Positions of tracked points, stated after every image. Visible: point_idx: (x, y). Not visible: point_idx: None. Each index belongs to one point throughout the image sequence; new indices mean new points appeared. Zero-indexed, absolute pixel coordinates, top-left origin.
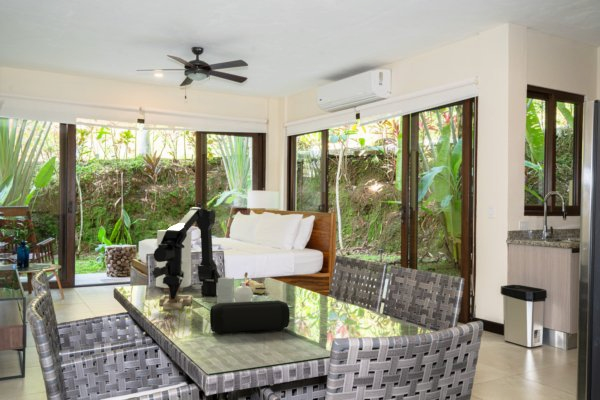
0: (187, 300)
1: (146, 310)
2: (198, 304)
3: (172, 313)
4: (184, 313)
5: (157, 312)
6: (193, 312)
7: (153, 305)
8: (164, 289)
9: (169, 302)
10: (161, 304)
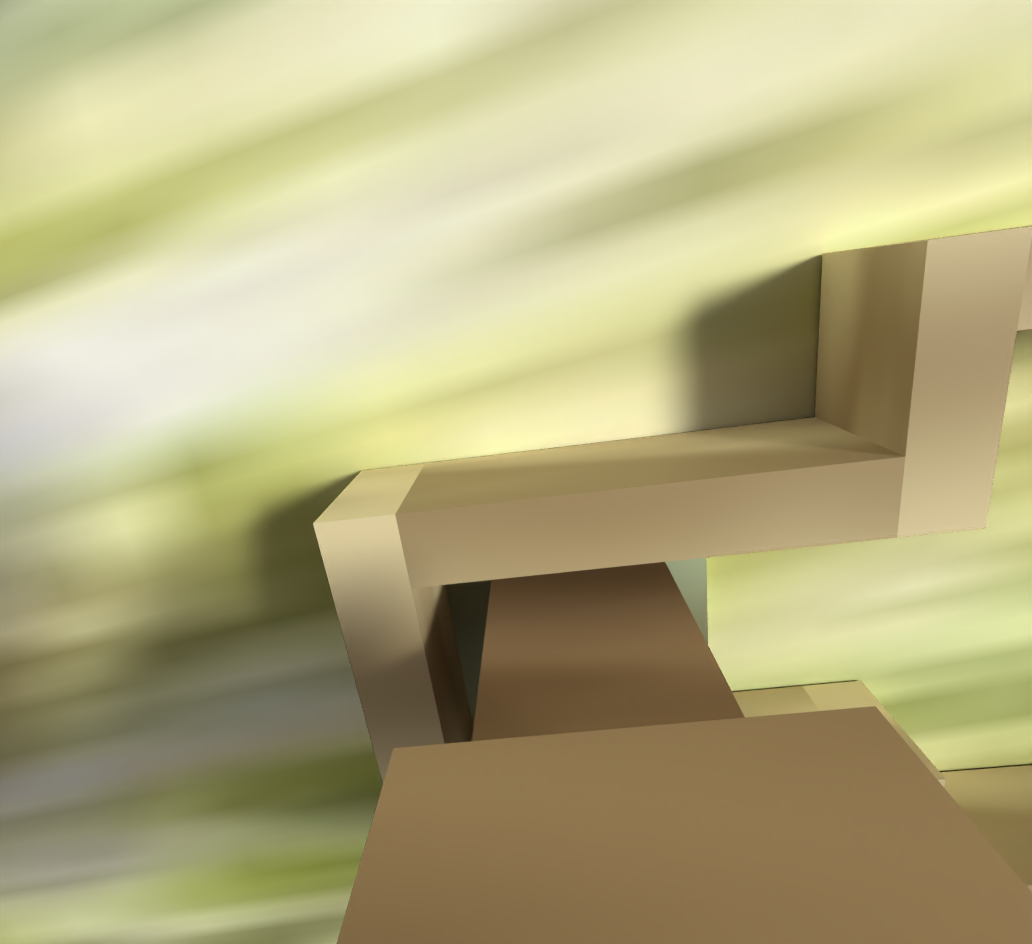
0: None
1: (168, 110)
2: None
3: (90, 706)
4: (156, 854)
5: (65, 439)
6: (259, 938)
7: (802, 95)
8: (358, 901)
9: (486, 634)
10: (826, 312)
